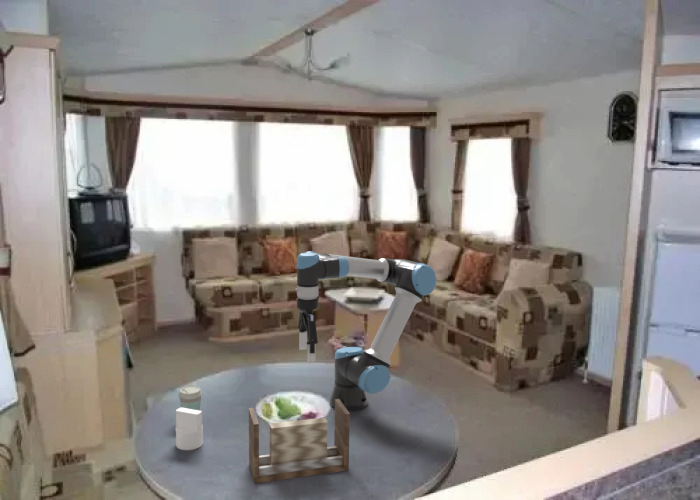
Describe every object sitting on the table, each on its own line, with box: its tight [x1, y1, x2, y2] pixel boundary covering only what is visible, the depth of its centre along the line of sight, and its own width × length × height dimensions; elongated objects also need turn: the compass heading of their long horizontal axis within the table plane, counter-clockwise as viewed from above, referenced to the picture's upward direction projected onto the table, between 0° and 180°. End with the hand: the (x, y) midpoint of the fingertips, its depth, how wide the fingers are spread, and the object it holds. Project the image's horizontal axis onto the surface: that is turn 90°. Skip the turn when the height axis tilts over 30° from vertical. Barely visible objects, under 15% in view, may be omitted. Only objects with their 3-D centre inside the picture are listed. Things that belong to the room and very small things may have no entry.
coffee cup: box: [178, 385, 203, 411], centre depth 218 cm, size 8×8×12 cm
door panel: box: [269, 417, 329, 465], centre depth 185 cm, size 18×4×14 cm, turn 107°
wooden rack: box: [248, 399, 351, 484], centre depth 185 cm, size 30×12×19 cm, turn 107°
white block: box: [175, 406, 204, 451], centre depth 200 cm, size 9×9×12 cm
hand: (307, 355), depth 207 cm, fingers open, 13 cm apart
